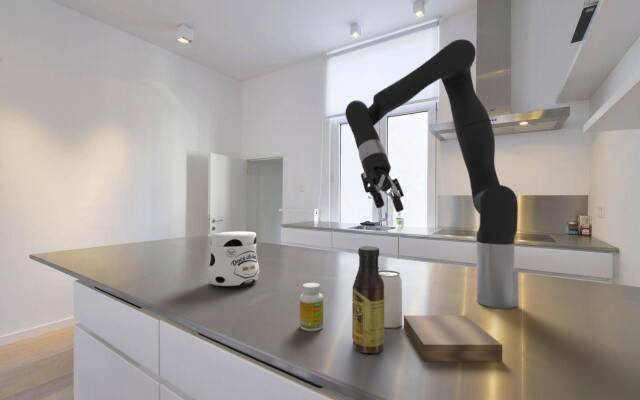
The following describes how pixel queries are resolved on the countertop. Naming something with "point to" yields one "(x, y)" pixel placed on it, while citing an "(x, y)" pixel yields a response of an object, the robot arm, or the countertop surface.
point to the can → (392, 298)
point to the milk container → (233, 259)
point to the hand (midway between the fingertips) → (390, 208)
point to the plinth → (451, 339)
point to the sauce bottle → (368, 303)
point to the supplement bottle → (311, 307)
